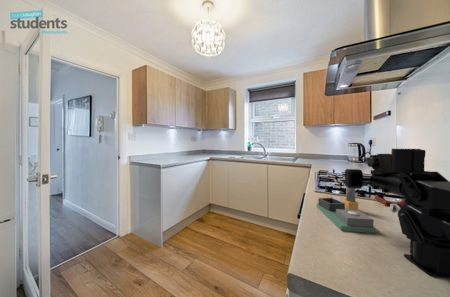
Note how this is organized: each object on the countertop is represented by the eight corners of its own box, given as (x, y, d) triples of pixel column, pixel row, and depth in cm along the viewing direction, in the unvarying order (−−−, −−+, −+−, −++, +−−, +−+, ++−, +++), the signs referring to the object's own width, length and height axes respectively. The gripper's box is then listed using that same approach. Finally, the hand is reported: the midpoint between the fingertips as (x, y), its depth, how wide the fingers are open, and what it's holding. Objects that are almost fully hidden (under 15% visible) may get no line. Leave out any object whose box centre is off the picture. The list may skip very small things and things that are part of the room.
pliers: (378, 210, 72) (378, 204, 72) (373, 198, 88) (373, 193, 88) (417, 218, 65) (418, 211, 65) (405, 203, 81) (405, 198, 81)
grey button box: (373, 227, 54) (373, 218, 53) (347, 225, 55) (347, 216, 55) (358, 217, 61) (358, 209, 61) (335, 215, 62) (335, 208, 62)
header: (344, 210, 67) (344, 203, 67) (330, 211, 66) (330, 204, 66) (331, 204, 74) (331, 197, 74) (318, 204, 73) (318, 198, 73)
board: (375, 233, 53) (375, 228, 53) (340, 230, 55) (341, 225, 54) (340, 208, 74) (341, 204, 74) (316, 206, 75) (316, 203, 75)
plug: (358, 212, 69) (358, 183, 69) (348, 211, 70) (349, 183, 69) (352, 208, 73) (352, 181, 73) (343, 207, 74) (343, 180, 74)
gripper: (436, 156, 46) (390, 153, 61) (360, 155, 49) (334, 153, 64) (435, 196, 46) (389, 184, 61) (360, 193, 49) (334, 182, 64)
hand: (361, 175), depth 63 cm, fingers open, 9 cm apart
